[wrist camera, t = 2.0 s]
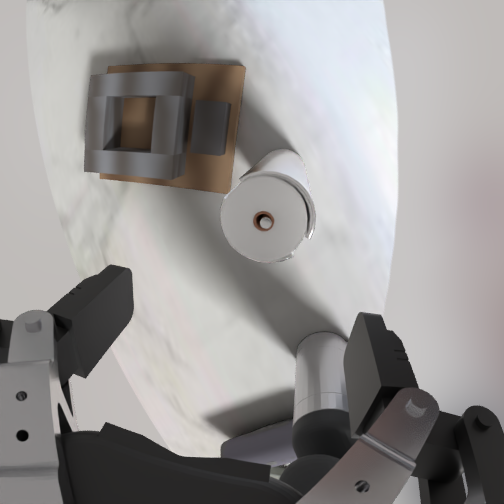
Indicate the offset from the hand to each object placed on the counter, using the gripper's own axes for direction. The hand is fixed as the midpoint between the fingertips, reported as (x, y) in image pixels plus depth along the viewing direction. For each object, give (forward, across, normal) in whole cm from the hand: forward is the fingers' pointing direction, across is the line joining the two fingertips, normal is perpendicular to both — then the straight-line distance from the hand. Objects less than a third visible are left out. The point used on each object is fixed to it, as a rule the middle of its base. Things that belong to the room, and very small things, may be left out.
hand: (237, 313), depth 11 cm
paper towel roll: (+36, 0, 0) cm, 36 cm away
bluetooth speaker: (+36, -8, +53) cm, 65 cm away
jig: (+36, +18, -5) cm, 40 cm away
